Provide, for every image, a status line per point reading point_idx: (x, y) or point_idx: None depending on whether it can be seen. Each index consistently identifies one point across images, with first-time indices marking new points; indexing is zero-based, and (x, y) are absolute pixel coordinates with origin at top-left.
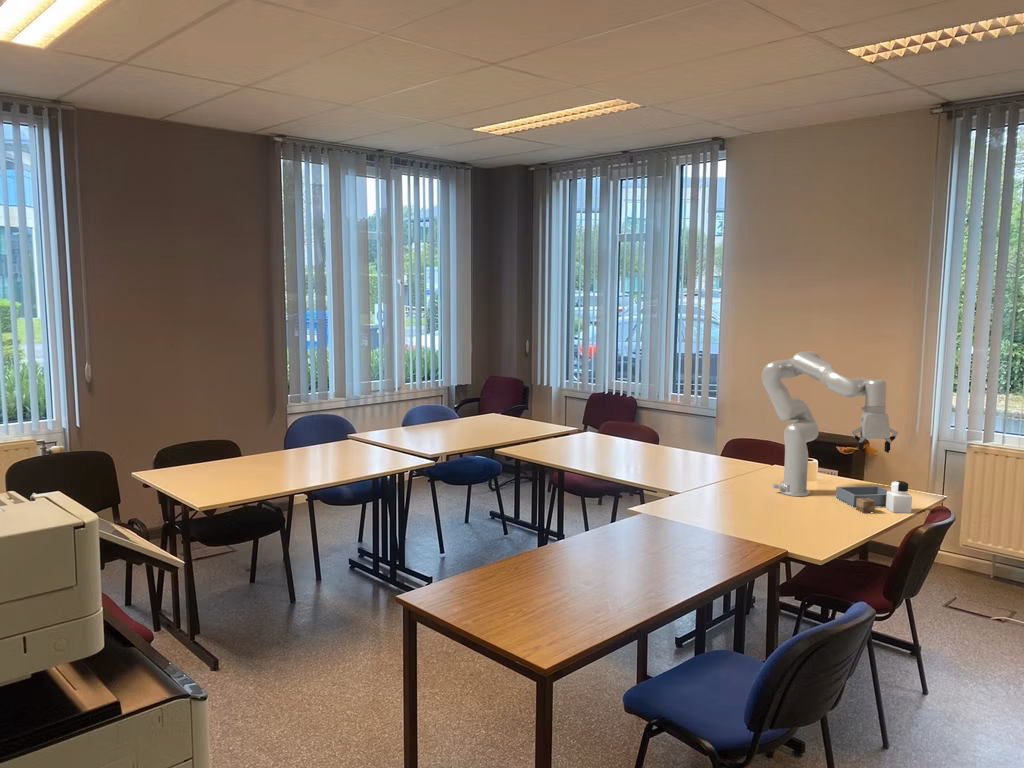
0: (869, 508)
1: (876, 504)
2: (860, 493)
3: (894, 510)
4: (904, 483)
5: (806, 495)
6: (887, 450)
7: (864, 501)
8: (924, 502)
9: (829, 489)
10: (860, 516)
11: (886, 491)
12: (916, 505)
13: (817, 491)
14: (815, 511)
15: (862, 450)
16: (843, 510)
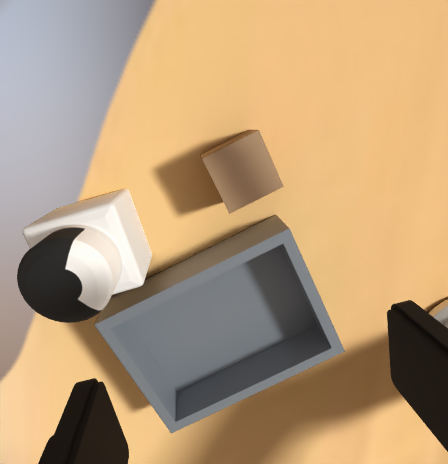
0: (225, 143)
1: (187, 262)
2: (240, 370)
3: (119, 191)
4: (35, 261)
5: (430, 312)
6: (88, 400)
7: (254, 133)
8: (8, 393)
9: (330, 433)
10: (263, 72)
11: (142, 371)
12: (36, 340)
13: (376, 391)
14: (437, 87)
15: (414, 311)
16: (321, 150)
